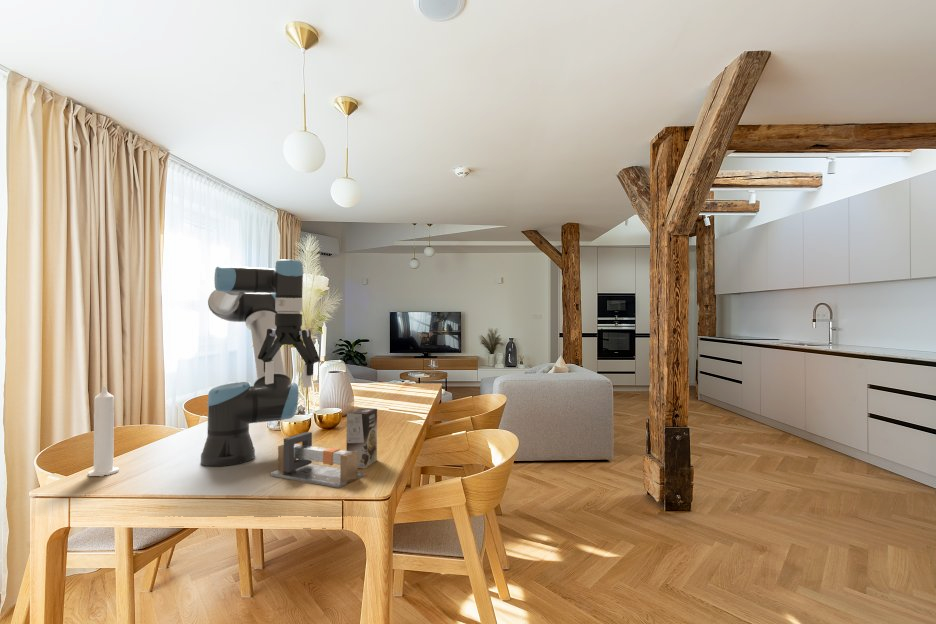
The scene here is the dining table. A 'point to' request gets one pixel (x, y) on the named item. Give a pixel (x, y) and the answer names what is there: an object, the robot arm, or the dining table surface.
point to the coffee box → (363, 435)
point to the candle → (103, 434)
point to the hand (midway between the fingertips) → (287, 385)
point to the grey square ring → (289, 451)
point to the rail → (321, 473)
